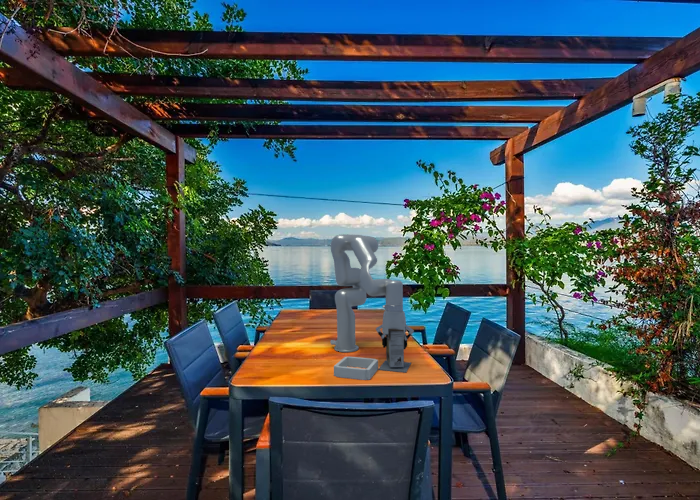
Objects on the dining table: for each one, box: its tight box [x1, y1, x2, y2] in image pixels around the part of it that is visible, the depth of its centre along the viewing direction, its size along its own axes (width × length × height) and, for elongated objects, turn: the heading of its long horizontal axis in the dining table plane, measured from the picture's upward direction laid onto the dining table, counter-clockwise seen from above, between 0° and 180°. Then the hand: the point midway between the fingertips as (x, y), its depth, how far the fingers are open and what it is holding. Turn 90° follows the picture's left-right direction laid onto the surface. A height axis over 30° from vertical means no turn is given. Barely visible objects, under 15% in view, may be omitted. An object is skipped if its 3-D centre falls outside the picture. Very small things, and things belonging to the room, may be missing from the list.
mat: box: [377, 359, 412, 374], centre depth 154 cm, size 12×13×1 cm
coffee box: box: [385, 329, 405, 367], centre depth 155 cm, size 9×6×16 cm
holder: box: [333, 356, 379, 381], centre depth 148 cm, size 15×15×4 cm
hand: (394, 347), depth 155 cm, fingers closed on coffee box, 8 cm apart
